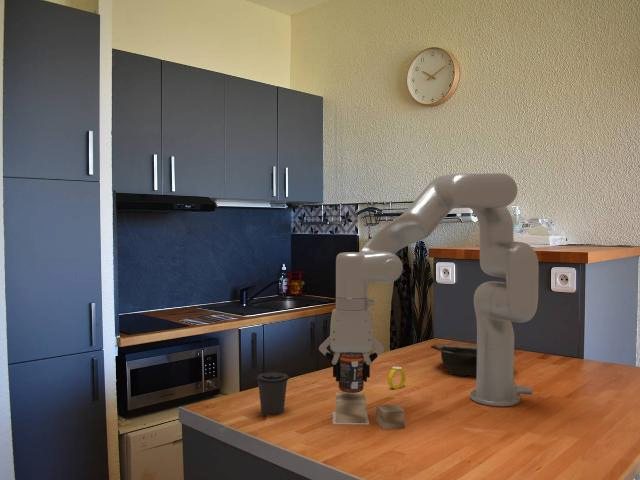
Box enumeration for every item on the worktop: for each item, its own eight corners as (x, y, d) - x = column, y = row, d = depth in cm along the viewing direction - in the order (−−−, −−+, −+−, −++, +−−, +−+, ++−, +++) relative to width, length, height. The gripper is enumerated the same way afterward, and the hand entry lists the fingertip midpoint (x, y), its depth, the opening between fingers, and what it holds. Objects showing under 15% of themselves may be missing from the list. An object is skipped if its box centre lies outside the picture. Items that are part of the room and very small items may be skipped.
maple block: (364, 413, 139) (364, 392, 139) (366, 423, 132) (366, 401, 132) (335, 412, 139) (335, 392, 139) (335, 422, 132) (335, 401, 132)
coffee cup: (263, 421, 134) (263, 379, 134) (251, 411, 142) (251, 371, 141) (294, 416, 138) (294, 375, 138) (281, 406, 145) (281, 367, 145)
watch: (399, 386, 166) (400, 365, 166) (406, 388, 164) (408, 367, 164) (385, 388, 162) (386, 367, 162) (392, 390, 160) (393, 369, 160)
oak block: (396, 420, 134) (396, 404, 133) (404, 428, 129) (404, 410, 129) (376, 422, 132) (376, 405, 132) (383, 430, 128) (383, 412, 127)
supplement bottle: (361, 394, 132) (362, 345, 131) (336, 392, 133) (336, 344, 132) (365, 387, 137) (365, 340, 137) (340, 385, 139) (341, 339, 138)
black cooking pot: (454, 382, 168) (453, 351, 168) (420, 368, 192) (419, 340, 192) (528, 376, 173) (527, 346, 174) (486, 363, 198) (485, 336, 198)
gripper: (386, 302, 138) (386, 376, 139) (315, 302, 139) (315, 375, 139) (389, 307, 131) (389, 385, 131) (314, 306, 131) (314, 384, 132)
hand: (351, 379), depth 135 cm, fingers closed on supplement bottle, 6 cm apart
